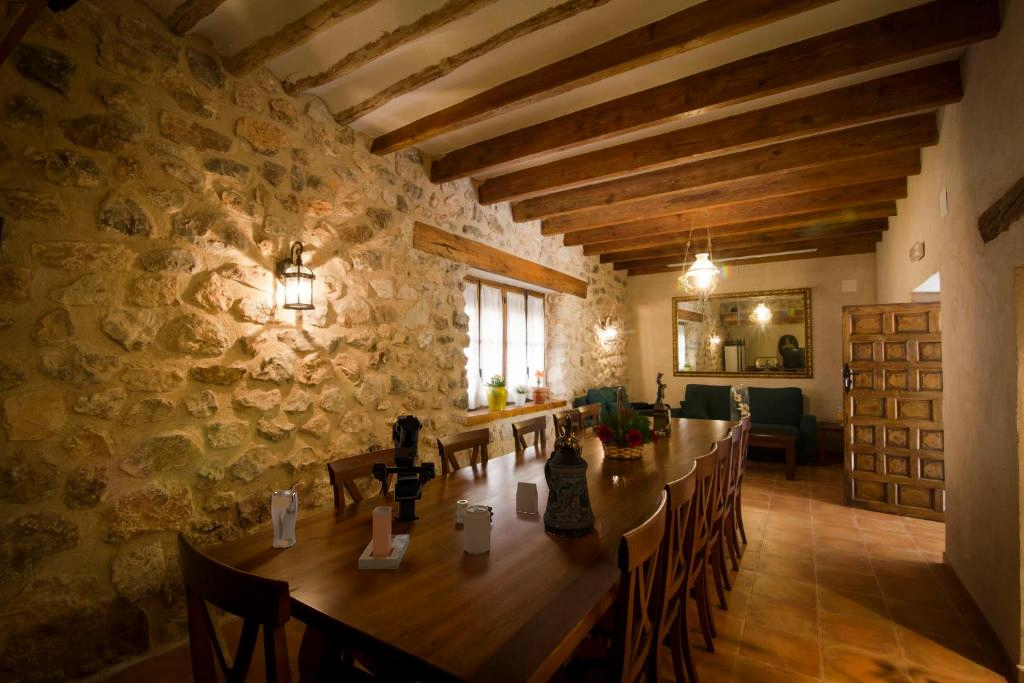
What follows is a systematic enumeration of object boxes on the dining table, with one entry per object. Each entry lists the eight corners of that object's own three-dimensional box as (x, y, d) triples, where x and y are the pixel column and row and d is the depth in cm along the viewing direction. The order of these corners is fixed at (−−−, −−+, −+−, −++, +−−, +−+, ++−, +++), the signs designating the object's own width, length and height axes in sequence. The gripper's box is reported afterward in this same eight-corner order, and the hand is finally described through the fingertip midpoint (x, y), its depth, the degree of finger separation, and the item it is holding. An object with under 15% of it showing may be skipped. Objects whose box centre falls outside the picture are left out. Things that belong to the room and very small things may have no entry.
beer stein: (582, 542, 142) (582, 457, 142) (525, 529, 152) (525, 450, 153) (603, 525, 156) (603, 447, 156) (549, 514, 166) (549, 441, 167)
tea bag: (534, 514, 166) (534, 485, 166) (516, 511, 169) (516, 483, 169) (537, 511, 170) (537, 482, 170) (520, 508, 172) (520, 480, 172)
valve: (451, 524, 157) (483, 530, 152) (451, 503, 157) (483, 509, 152) (462, 517, 163) (493, 523, 158) (462, 498, 163) (493, 503, 158)
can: (469, 558, 131) (469, 513, 132) (459, 548, 138) (459, 505, 138) (494, 552, 135) (494, 509, 135) (483, 543, 142) (483, 502, 142)
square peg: (376, 558, 131) (376, 506, 132) (391, 558, 132) (391, 506, 132) (372, 564, 127) (372, 511, 128) (388, 564, 127) (388, 511, 128)
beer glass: (302, 541, 143) (303, 490, 143) (284, 551, 136) (285, 497, 136) (284, 538, 145) (284, 488, 145) (265, 547, 138) (265, 495, 139)
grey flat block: (374, 543, 141) (374, 534, 141) (409, 543, 142) (409, 534, 142) (358, 569, 125) (358, 559, 125) (397, 568, 125) (397, 558, 125)
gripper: (373, 436, 148) (363, 482, 136) (434, 435, 148) (429, 481, 137) (379, 456, 155) (370, 501, 144) (437, 455, 156) (433, 500, 145)
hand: (400, 496), depth 142 cm, fingers open, 9 cm apart
